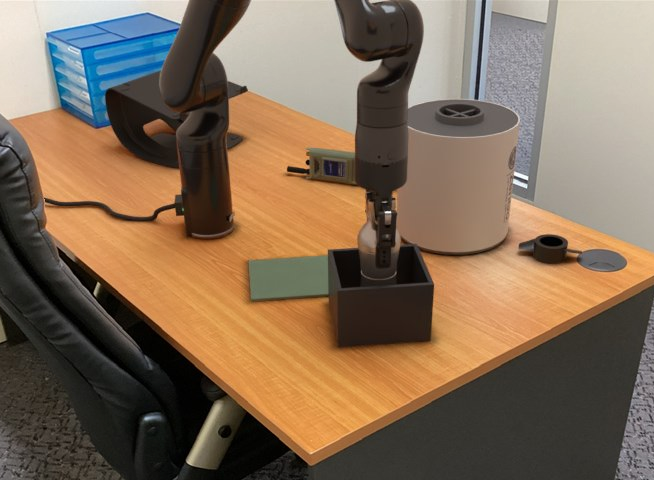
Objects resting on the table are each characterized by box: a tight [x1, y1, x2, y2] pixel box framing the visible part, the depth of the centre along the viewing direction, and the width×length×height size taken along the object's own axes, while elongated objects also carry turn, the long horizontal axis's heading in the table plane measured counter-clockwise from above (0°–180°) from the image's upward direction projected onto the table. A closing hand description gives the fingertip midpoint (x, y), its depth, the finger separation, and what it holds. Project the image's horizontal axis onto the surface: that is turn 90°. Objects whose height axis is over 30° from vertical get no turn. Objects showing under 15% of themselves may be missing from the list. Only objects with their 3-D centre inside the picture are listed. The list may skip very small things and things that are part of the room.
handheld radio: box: [286, 146, 358, 186], centre depth 182 cm, size 7×3×25 cm
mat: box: [247, 254, 328, 302], centre depth 148 cm, size 20×14×1 cm
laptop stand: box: [104, 69, 249, 169], centre depth 201 cm, size 26×24×16 cm
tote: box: [327, 243, 435, 348], centre depth 133 cm, size 14×13×10 cm
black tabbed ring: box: [518, 233, 583, 265], centre depth 152 cm, size 8×10×3 cm
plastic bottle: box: [356, 208, 402, 287], centre depth 130 cm, size 6×7×20 cm
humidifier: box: [396, 98, 521, 256], centre depth 155 cm, size 22×21×23 cm
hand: (379, 256), depth 129 cm, fingers closed on plastic bottle, 6 cm apart
